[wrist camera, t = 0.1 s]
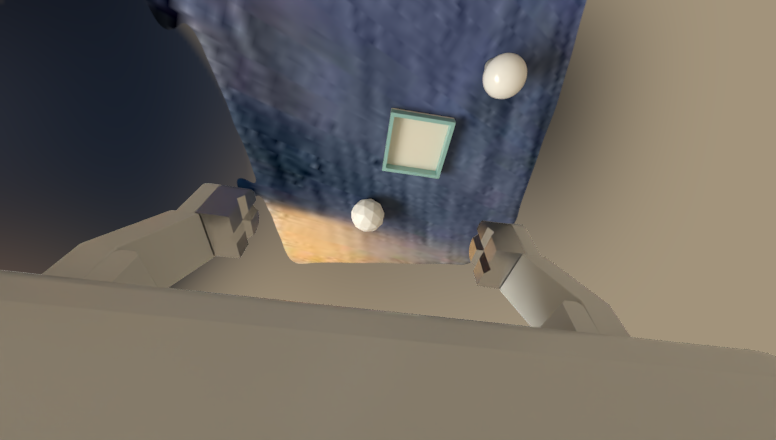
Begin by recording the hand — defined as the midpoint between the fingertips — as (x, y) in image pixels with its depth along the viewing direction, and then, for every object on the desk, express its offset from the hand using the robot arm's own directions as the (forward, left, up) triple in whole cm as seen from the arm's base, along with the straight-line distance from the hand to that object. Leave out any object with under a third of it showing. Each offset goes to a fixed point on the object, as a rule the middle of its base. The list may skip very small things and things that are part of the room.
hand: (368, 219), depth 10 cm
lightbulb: (+1, +18, -48) cm, 51 cm away
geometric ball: (+35, 0, -48) cm, 60 cm away
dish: (+17, +8, -48) cm, 51 cm away
